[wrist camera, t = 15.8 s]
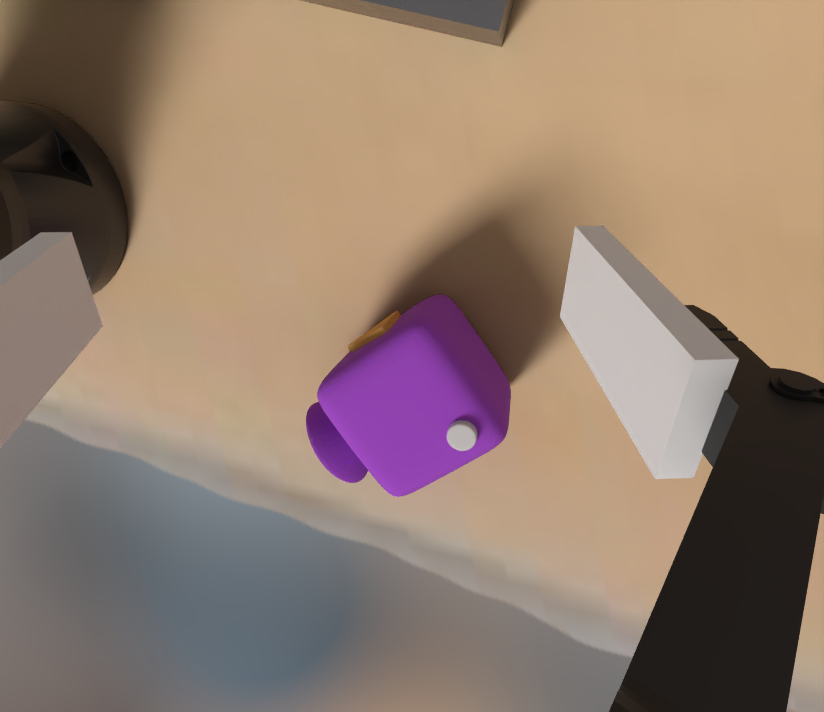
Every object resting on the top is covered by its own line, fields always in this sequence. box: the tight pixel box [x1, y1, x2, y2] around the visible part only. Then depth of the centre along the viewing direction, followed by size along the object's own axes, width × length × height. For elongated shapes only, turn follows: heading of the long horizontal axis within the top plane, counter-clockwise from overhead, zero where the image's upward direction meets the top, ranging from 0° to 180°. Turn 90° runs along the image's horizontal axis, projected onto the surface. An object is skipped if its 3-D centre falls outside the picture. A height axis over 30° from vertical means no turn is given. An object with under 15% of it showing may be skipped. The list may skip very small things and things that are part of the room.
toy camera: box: [306, 294, 511, 497], centre depth 38 cm, size 11×14×10 cm
